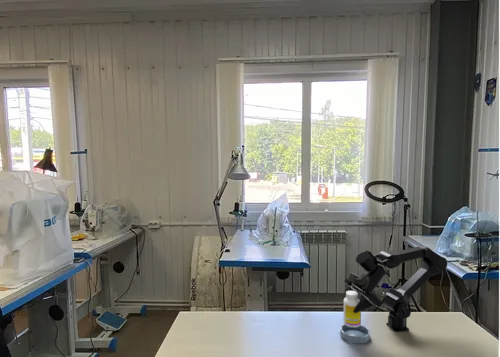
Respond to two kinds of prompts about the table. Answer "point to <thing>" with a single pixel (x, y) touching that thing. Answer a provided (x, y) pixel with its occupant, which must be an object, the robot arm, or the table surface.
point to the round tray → (355, 334)
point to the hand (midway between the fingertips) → (349, 308)
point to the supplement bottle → (351, 310)
